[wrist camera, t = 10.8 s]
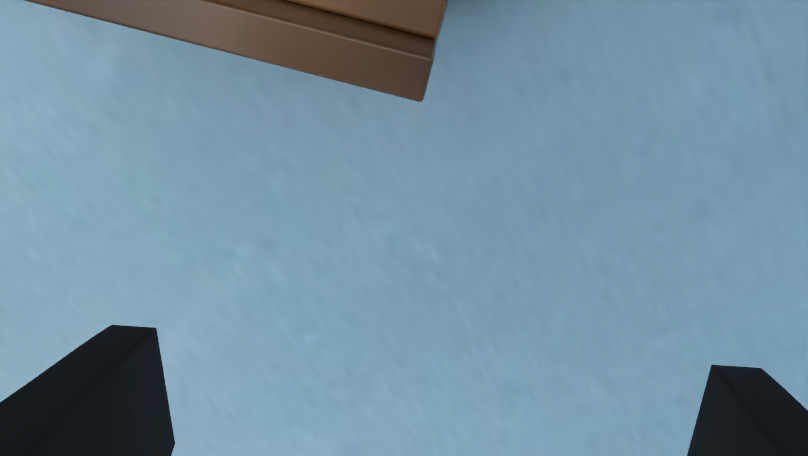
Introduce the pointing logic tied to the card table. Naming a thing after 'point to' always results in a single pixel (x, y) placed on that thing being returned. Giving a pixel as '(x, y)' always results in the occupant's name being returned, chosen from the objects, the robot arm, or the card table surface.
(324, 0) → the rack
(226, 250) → the card table surface
